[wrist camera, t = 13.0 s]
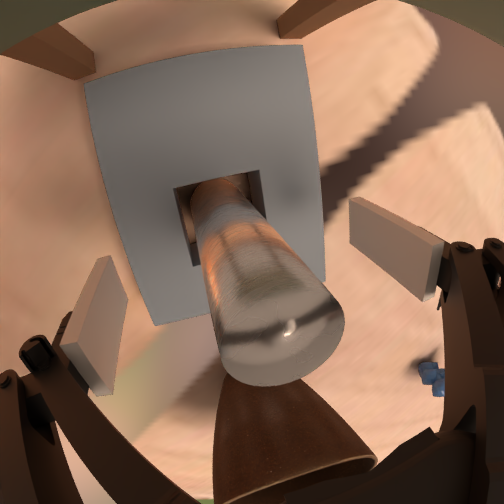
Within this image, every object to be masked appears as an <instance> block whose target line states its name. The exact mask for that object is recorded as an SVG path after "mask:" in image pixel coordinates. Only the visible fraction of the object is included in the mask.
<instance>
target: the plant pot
mask: <svg viewBox="0 0 504 504" xmlns="http://www.w3.org/2000/svg"><path fill="white" fill-rule="evenodd" d="M377 462H378V459H377V457H376V456H375V454H374V453H373V452H372V451H371V450H370V448H369V447H368V446H367V445H366V444H365V443H364V442H363V440H362V439H361V438H360V437H359V436H358V435H357V434H356V432H355V431H354V430H353V429H352V428H351V427H350V426H349V425H348V424H347V423H346V421H345V420H344V419H343V418H342V417H341V416H340V415H339V414H338V413H337V412H336V411H335V410H334V409H333V408H332V407H331V406H330V405H329V404H328V403H327V402H326V401H325V400H324V399H323V398H322V397H321V396H319V395H318V394H317V393H316V392H315V391H314V390H313V389H312V388H311V387H309V386H308V385H307V384H306V383H305V382H304V381H302V380H301V379H298V380H295V381H292V382H290V383H286V384H282V385H277V386H253V385H248V384H245V383H242V382H240V381H238V380H236V379H235V378H234V377H232V376H231V375H230V374H229V373H228V374H227V375H226V377H225V379H224V383H223V387H222V390H221V395H220V399H219V404H218V409H217V416H216V423H215V432H214V444H213V495H214V504H281V503H282V502H284V501H286V500H285V497H284V494H287V493H290V492H293V491H297V490H300V489H303V488H306V487H309V486H311V485H314V484H317V483H320V482H322V481H325V480H332V479H337V478H343V477H348V476H353V475H358V474H362V473H366V472H369V471H370V470H372V469H373V468H374V467H375V466H376V464H377Z"/></svg>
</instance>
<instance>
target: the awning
mask: <svg viewBox="0 0 504 504" xmlns="http://www.w3.org/2000/svg"><path fill="white" fill-rule="evenodd" d="M113 1H117V0H0V55H3V56H7V57H10V58H13V59H16V60H19V61H22V62H25V63H28V64H31V65H34V66H37V67H40V68H43V69H46V70H49V71H51V72H54V73H57V74H59V75H62V76H65V77H67V78H70V79H72V80H76V79H79V78H82V77H84V76H87V75H90V74H92V73H95V72H96V70H95V62H94V54H93V51H91V50H90V49H89V48H88V47H87V46H85V45H84V44H83V43H82V42H80V41H79V40H78V39H77V38H75V37H74V36H73V35H72V34H70V33H69V32H68V31H67V30H65V29H64V28H63V27H62V26H60V25H59V24H58V22H60V21H62V20H65V19H67V18H69V17H72V16H74V15H77V14H79V13H82V12H84V11H87V10H90V9H92V8H95V7H98V6H101V5H104V4H107V3H110V2H113ZM373 1H376V0H298V1H297V2H296V3H295V4H294V5H293V6H291V7H290V8H289V9H288V10H287V11H286V12H285V13H283V14H282V15H281V16H280V17H279V18H278V19H277V24H278V29H279V35H280V39H288V38H298V39H301V38H303V37H305V36H306V35H308V34H310V33H312V32H313V31H315V30H317V29H319V28H321V27H322V26H324V25H326V24H328V23H330V22H332V21H334V20H336V19H337V18H339V17H341V16H343V15H345V14H347V13H349V12H352V11H354V10H356V9H358V8H360V7H362V6H364V5H367V4H369V3H371V2H373ZM399 1H402V2H405V3H408V4H411V5H415V6H417V7H420V8H423V9H426V10H429V11H431V12H434V13H436V14H439V15H441V16H444V17H446V18H448V19H451V20H453V21H455V22H457V23H459V24H462V25H464V26H466V27H468V28H470V29H472V30H474V31H476V32H478V33H480V34H482V35H484V36H486V37H487V38H489V39H491V40H493V41H494V42H496V43H498V44H500V45H501V46H503V47H504V0H399Z"/></svg>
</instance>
